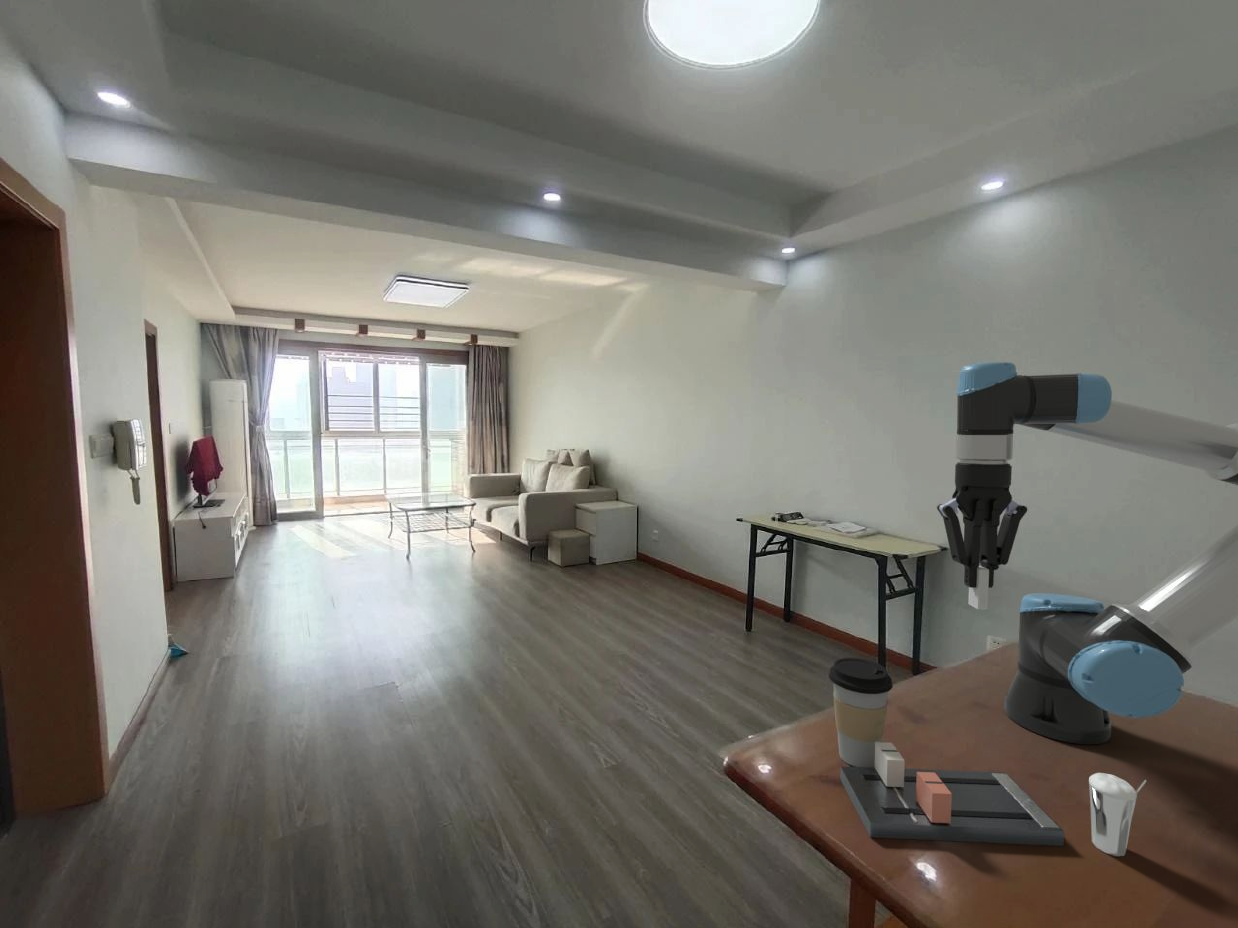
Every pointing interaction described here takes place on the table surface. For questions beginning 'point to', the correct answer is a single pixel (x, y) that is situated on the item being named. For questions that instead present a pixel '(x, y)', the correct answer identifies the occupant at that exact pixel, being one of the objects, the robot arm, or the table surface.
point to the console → (977, 808)
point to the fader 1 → (889, 764)
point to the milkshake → (1111, 812)
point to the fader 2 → (933, 797)
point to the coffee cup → (859, 708)
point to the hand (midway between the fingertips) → (977, 606)
